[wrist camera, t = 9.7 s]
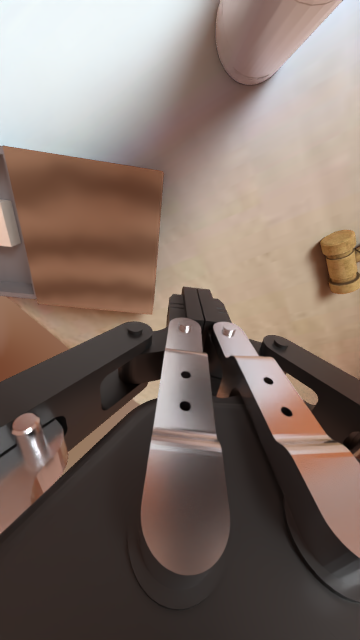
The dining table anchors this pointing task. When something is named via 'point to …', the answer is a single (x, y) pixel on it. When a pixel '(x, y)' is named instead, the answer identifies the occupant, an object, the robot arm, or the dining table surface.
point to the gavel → (342, 261)
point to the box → (13, 249)
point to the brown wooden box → (88, 229)
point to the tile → (8, 225)
